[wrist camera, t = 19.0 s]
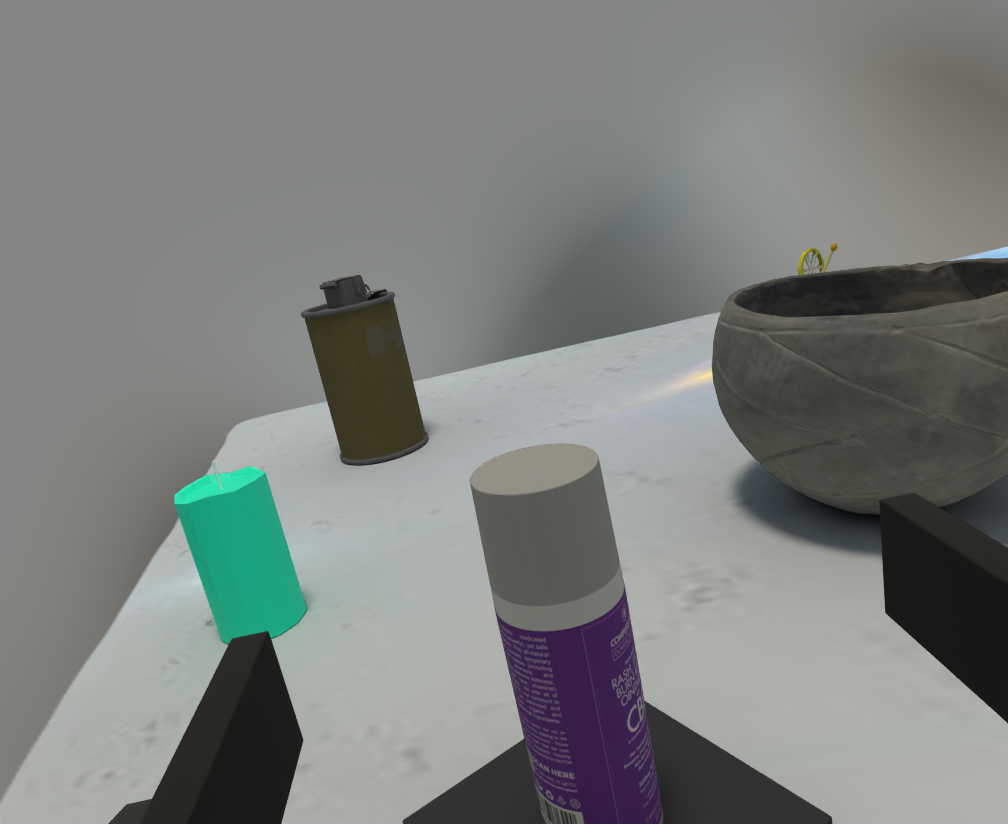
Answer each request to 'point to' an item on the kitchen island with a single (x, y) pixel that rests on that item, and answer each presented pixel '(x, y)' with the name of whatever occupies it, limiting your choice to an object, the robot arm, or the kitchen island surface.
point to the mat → (681, 778)
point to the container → (567, 634)
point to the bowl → (871, 380)
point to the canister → (365, 372)
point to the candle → (241, 553)
